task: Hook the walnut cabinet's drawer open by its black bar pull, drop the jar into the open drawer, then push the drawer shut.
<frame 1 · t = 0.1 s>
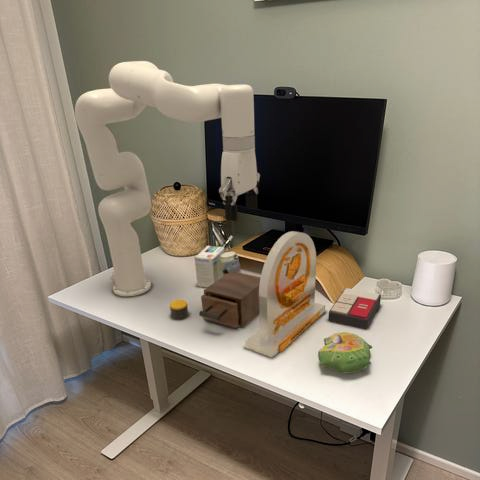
hand: (241, 214, 116), 31 cm above the table, tool pointing down, fingers open, 9 cm apart
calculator: (354, 313, 132), on the table
light bulb box: (212, 281, 155), on the table
cabinet: (237, 311, 136), on the table
educational model: (344, 361, 112), on the table
beverage can: (232, 288, 150), on the table
jar: (179, 315, 135), on the table
drawer: (226, 305, 130), point 5 cm above the table, slide at 1.0 cm
award: (288, 329, 126), on the table
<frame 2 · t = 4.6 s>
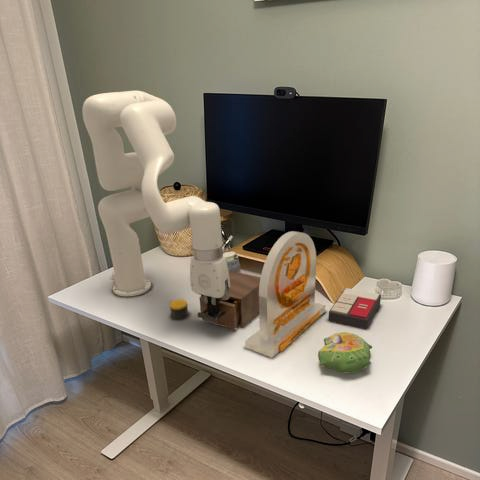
hand: (213, 315, 124), 5 cm above the table, tool pointing down, fingers closed
drawer: (225, 306, 129), point 5 cm above the table, slide at 1.8 cm
everything else where it was.
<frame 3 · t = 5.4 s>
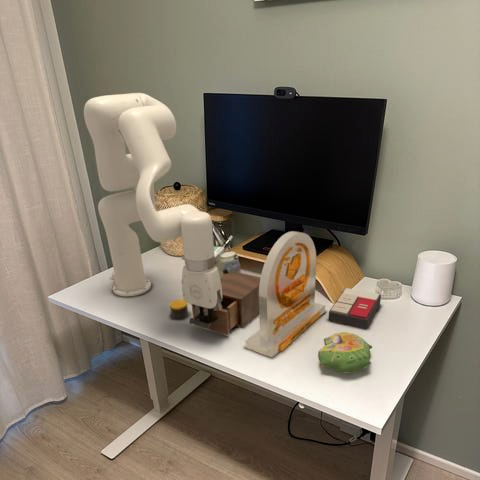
hand: (206, 324, 123), 4 cm above the table, tool pointing down, fingers closed
drawer: (218, 312, 127), point 5 cm above the table, slide at 5.4 cm, touching gripper
everything else where it was.
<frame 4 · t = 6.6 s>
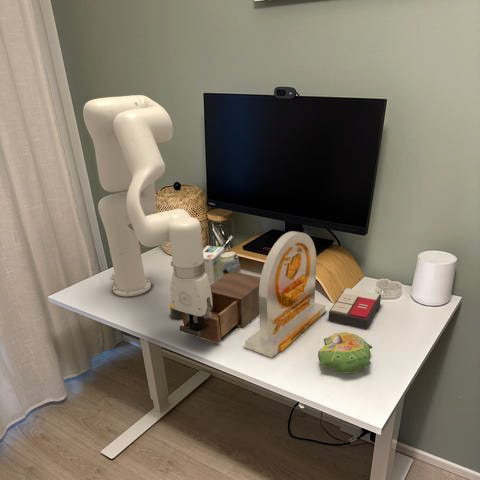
hand: (196, 332, 119), 4 cm above the table, tool pointing down, fingers closed
drawer: (209, 319, 123), point 5 cm above the table, slide at 9.8 cm, touching gripper
everything else where it was.
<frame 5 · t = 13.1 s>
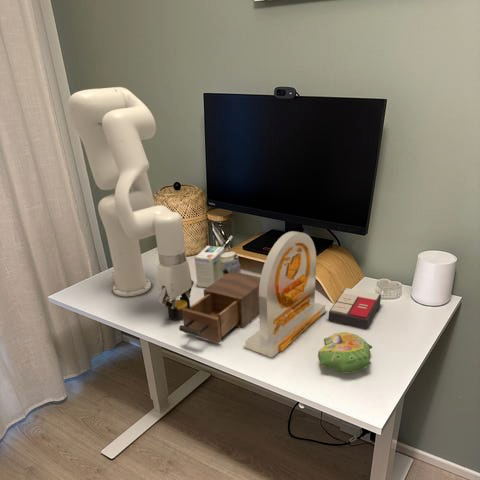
hand: (179, 313, 135), 1 cm above the table, tool pointing down, fingers closed on jar, 5 cm apart
jar: (179, 315, 135), on the table, touching gripper
drawer: (209, 319, 124), point 5 cm above the table, slide at 9.7 cm
everything else where it was.
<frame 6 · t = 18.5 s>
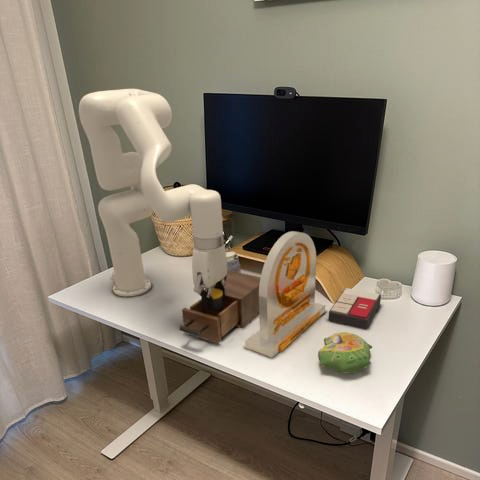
hand: (214, 303, 124), 8 cm above the table, tool pointing down, fingers closed on jar, 5 cm apart
jar: (214, 305, 124), point 7 cm above the table, touching gripper
everything else where it was.
when the fingers open (10 cm above the table, at t = 30.1 s): jar drops 8 cm, resting on drawer.
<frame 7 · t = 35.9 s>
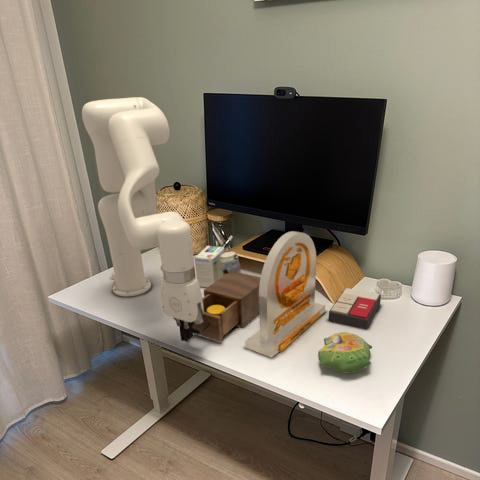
hand: (187, 338, 117), 4 cm above the table, tool pointing down, fingers closed
jar: (217, 321, 127), point 2 cm above the table, touching drawer
drawer: (211, 317, 124), point 5 cm above the table, slide at 8.9 cm, touching jar, gripper
everything else where it was.
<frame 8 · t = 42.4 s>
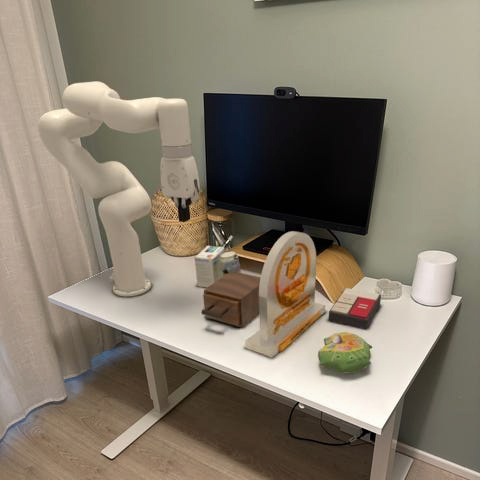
hand: (184, 220, 127), 27 cm above the table, tool pointing down, fingers closed
jar: (234, 307, 134), point 2 cm above the table, touching drawer
drawer: (228, 304, 131), point 5 cm above the table, slide at 0.0 cm, touching cabinet, jar
everything else where it was.
at the end: drawer pulled out 9.8 cm at the most during the clip, back to where it started at the end; jar inside the target area in the cabinet (1.6 cm from its centre), point 2.0 cm above the cabinet's base; drawer slide at 0.0 cm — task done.
